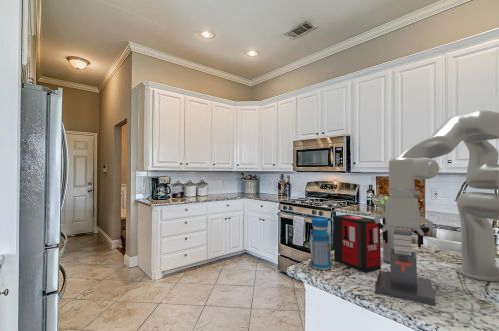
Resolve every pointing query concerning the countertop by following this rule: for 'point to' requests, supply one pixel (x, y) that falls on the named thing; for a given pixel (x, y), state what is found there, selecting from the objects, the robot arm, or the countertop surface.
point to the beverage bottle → (320, 244)
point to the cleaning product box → (357, 242)
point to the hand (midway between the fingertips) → (402, 244)
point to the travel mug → (390, 244)
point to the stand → (405, 280)
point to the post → (403, 242)
